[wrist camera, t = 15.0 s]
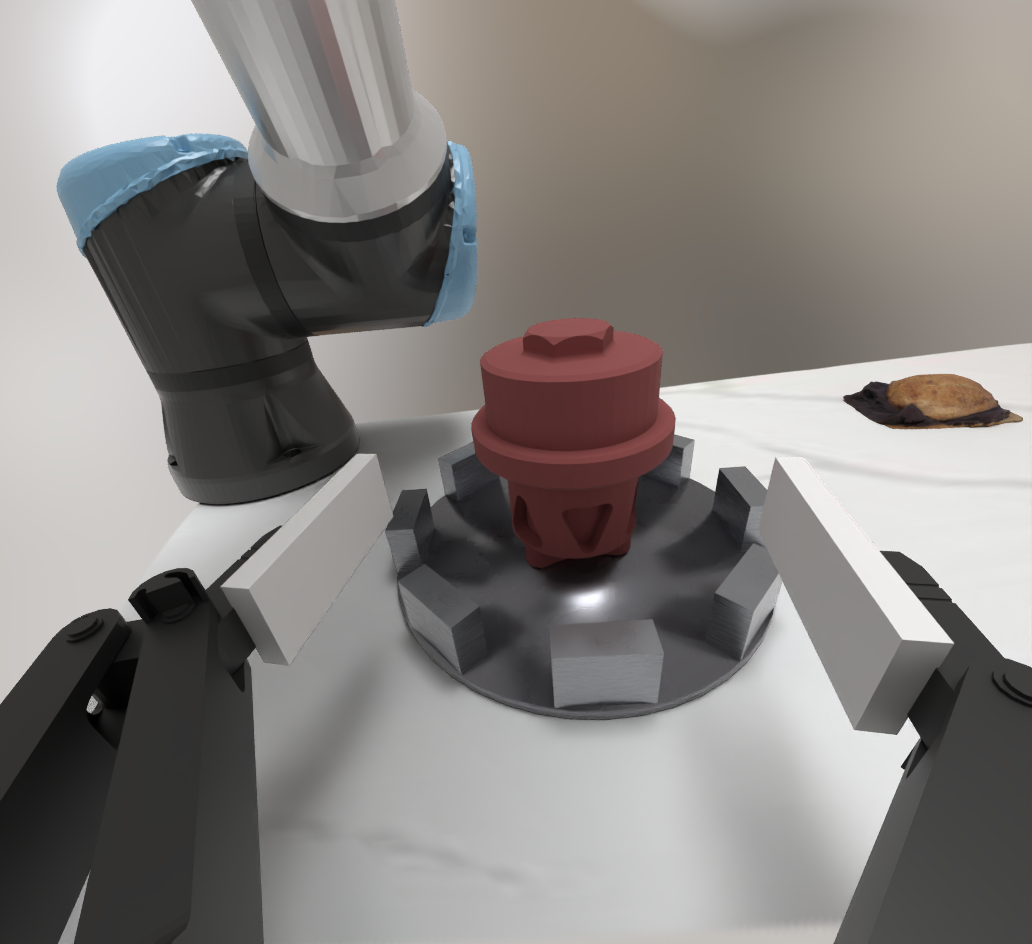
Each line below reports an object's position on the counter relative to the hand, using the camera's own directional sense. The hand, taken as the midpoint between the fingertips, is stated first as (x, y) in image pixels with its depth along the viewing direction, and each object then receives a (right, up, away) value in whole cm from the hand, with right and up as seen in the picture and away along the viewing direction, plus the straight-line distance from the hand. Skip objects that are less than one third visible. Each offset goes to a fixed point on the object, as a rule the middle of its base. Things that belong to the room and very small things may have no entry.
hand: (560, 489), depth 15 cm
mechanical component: (+2, -4, +11) cm, 12 cm away
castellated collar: (+2, -4, +11) cm, 12 cm away
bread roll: (+35, +6, +24) cm, 42 cm away
